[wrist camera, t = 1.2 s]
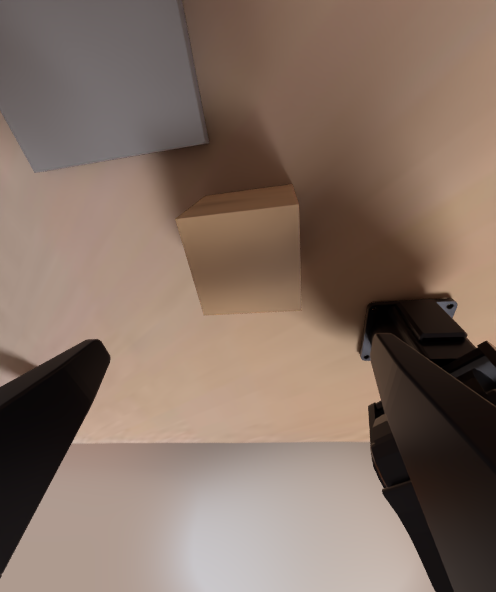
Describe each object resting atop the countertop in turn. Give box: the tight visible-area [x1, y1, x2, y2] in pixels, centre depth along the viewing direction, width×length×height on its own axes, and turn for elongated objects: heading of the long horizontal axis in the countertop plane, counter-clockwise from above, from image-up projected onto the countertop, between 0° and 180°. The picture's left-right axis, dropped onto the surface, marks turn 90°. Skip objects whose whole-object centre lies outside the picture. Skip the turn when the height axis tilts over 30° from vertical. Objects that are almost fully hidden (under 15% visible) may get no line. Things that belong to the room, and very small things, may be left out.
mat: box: [0, 0, 209, 173], centre depth 12 cm, size 12×12×1 cm
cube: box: [175, 184, 302, 315], centre depth 15 cm, size 6×6×6 cm
